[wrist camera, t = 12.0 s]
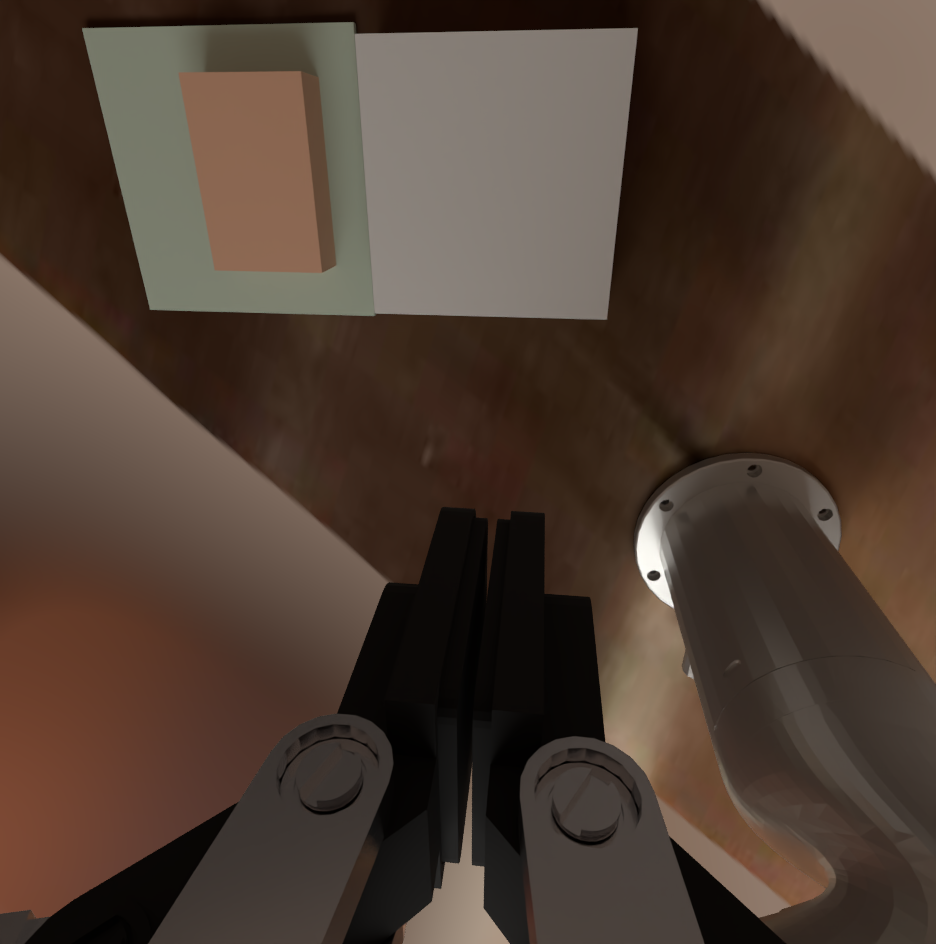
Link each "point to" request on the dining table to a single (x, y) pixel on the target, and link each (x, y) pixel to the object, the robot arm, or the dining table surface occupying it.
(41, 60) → the dining table surface
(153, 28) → the mat
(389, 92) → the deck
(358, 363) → the dining table surface
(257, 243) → the salmon rectangular block
